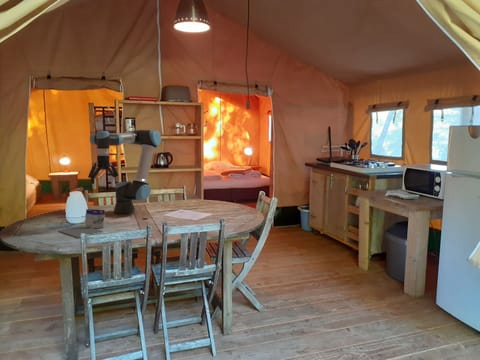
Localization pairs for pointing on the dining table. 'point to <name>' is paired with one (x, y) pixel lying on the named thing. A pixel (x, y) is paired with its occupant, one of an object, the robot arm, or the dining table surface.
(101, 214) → the ink box
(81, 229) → the rubber mat
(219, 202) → the dining table surface
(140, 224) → the dining table surface
